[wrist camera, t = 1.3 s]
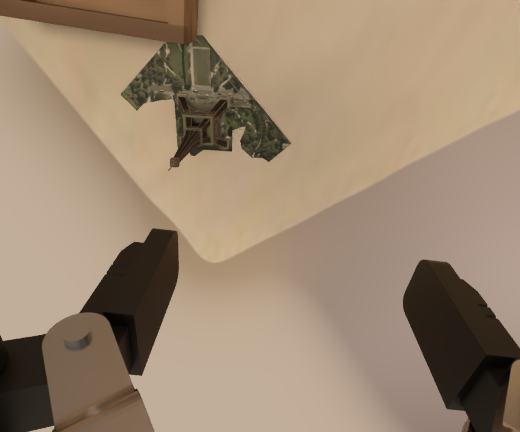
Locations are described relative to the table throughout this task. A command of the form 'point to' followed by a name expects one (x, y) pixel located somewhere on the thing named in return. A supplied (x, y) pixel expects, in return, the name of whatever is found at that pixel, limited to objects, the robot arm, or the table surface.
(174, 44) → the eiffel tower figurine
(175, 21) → the wooden tray
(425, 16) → the table surface
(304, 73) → the table surface
